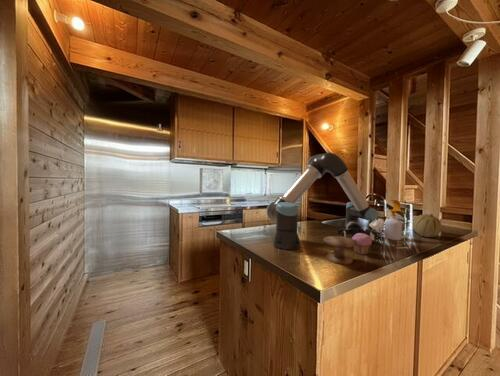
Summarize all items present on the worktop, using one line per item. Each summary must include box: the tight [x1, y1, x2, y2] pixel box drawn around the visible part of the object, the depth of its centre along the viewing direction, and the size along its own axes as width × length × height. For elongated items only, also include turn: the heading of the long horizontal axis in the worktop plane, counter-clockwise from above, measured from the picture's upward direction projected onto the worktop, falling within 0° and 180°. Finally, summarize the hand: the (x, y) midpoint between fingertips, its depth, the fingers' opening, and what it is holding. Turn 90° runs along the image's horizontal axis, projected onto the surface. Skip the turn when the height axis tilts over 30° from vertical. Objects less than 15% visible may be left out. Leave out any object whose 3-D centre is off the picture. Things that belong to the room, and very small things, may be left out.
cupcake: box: [351, 233, 373, 255], centre depth 107 cm, size 9×9×10 cm
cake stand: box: [322, 235, 357, 265], centre depth 98 cm, size 14×14×9 cm
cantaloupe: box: [412, 214, 443, 238], centre depth 140 cm, size 15×15×15 cm
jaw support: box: [368, 218, 385, 233], centre depth 155 cm, size 12×9×10 cm
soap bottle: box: [383, 198, 403, 241], centre depth 136 cm, size 9×9×25 cm
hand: (359, 236), depth 116 cm, fingers open, 13 cm apart
